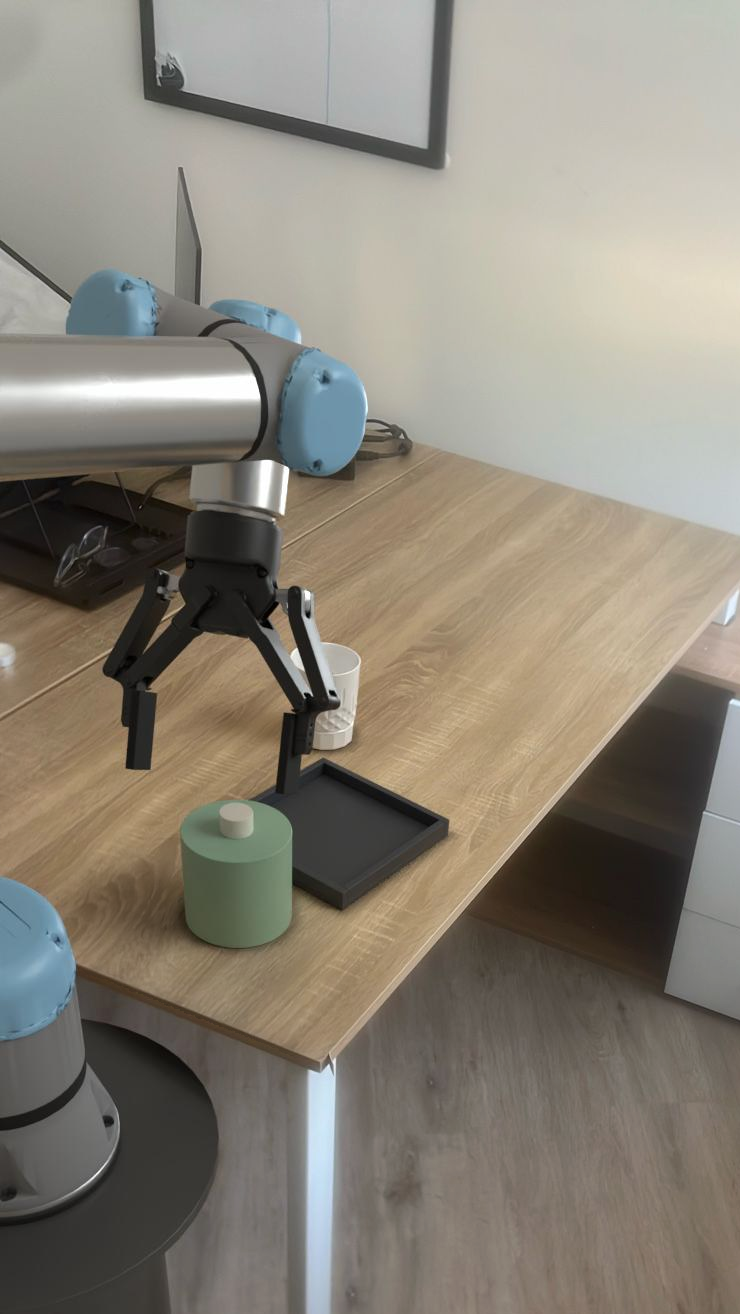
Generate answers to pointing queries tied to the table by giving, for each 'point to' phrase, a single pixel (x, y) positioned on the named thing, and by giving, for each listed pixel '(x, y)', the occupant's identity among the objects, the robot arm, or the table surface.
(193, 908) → the cover
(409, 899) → the table surface
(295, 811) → the tray
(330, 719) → the white cup
